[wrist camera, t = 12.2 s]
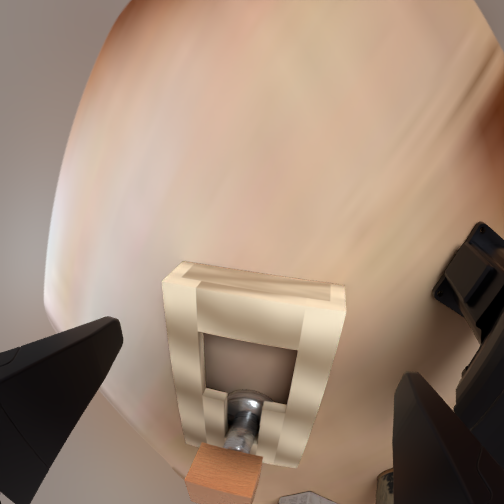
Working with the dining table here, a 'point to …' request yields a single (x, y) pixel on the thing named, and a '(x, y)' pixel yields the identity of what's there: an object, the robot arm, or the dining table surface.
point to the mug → (385, 487)
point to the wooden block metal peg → (230, 456)
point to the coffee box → (304, 499)
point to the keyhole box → (256, 331)
